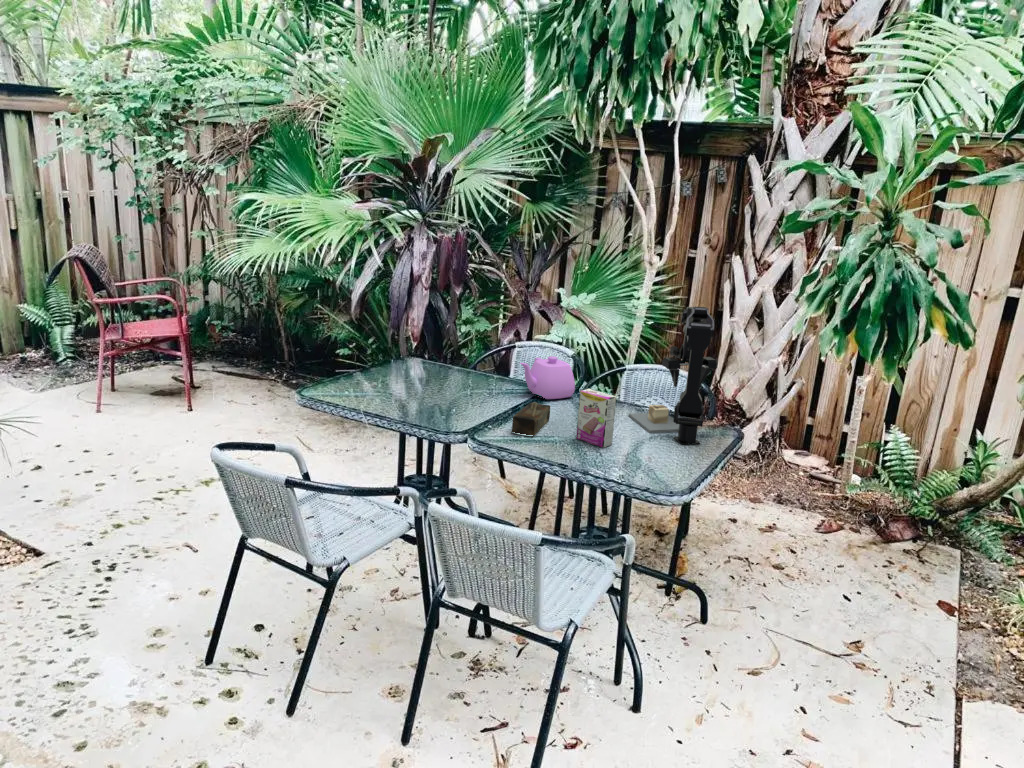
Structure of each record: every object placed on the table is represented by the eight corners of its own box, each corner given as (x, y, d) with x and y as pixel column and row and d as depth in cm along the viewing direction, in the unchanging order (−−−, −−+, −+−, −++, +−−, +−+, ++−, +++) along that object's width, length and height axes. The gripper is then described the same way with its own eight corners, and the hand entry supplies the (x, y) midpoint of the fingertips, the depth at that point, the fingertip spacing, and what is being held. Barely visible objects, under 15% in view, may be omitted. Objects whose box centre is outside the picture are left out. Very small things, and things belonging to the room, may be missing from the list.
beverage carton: (550, 421, 260) (551, 403, 258) (533, 438, 243) (535, 419, 241) (528, 418, 263) (529, 400, 261) (510, 435, 245) (511, 415, 243)
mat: (687, 431, 256) (687, 428, 256) (649, 433, 253) (649, 430, 252) (664, 414, 273) (664, 412, 273) (628, 416, 269) (628, 413, 269)
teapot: (552, 384, 305) (554, 348, 301) (580, 399, 287) (583, 360, 283) (501, 389, 294) (503, 352, 290) (528, 405, 276) (530, 365, 272)
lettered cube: (667, 423, 261) (668, 408, 259) (654, 423, 259) (655, 409, 258) (660, 418, 265) (662, 404, 264) (647, 418, 264) (649, 405, 263)
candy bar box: (575, 439, 243) (578, 390, 239) (584, 436, 247) (588, 387, 242) (603, 449, 236) (607, 398, 232) (612, 445, 240) (617, 395, 235)
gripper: (705, 337, 272) (700, 379, 276) (657, 338, 267) (653, 380, 271) (720, 345, 261) (715, 388, 266) (671, 345, 257) (666, 389, 261)
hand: (687, 386), depth 266 cm, fingers open, 9 cm apart
